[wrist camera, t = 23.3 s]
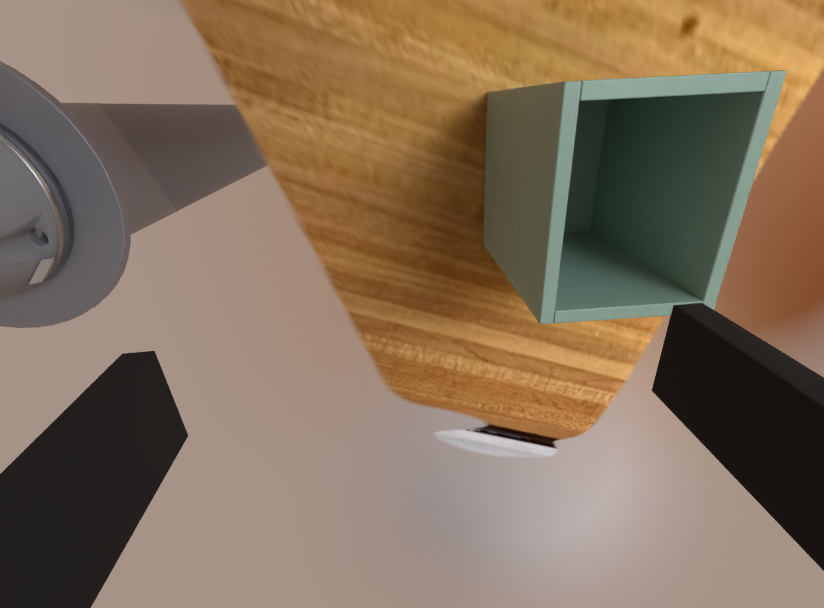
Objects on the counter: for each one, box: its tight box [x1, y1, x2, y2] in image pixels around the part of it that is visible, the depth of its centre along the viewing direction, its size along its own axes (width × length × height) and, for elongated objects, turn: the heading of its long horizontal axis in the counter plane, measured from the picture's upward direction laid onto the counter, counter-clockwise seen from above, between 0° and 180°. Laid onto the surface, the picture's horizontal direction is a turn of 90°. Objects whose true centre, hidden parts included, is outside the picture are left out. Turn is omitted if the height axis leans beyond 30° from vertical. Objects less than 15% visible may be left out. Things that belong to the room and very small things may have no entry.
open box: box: [483, 70, 786, 324], centre depth 27 cm, size 15×10×12 cm
